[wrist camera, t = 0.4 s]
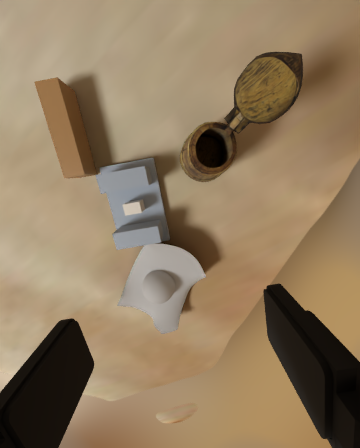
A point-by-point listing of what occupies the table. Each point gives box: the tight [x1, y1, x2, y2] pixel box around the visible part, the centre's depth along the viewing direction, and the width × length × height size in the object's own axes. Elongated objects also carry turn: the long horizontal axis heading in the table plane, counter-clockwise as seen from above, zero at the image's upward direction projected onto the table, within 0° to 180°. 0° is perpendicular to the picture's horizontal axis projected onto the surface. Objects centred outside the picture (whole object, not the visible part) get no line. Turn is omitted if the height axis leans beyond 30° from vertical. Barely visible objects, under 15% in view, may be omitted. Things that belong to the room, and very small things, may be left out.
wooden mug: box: [180, 52, 303, 182], centre depth 26 cm, size 9×14×18 cm, turn 139°
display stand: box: [96, 158, 170, 250], centre depth 34 cm, size 16×10×6 cm, turn 10°
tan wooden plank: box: [35, 78, 97, 178], centre depth 32 cm, size 14×4×5 cm, turn 9°
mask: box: [117, 244, 206, 334], centre depth 38 cm, size 20×8×15 cm
